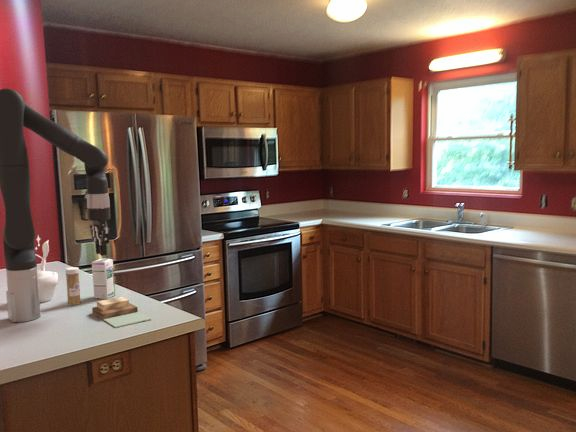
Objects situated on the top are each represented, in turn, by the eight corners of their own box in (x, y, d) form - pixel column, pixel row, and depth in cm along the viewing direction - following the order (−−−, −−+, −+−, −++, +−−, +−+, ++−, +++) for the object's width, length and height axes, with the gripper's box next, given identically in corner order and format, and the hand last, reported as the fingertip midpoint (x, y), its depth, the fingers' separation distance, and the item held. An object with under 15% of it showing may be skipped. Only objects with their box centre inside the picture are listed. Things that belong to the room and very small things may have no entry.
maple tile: (103, 310, 178) (103, 305, 178) (97, 307, 183) (96, 301, 182) (129, 305, 184) (128, 300, 183) (122, 302, 188) (121, 296, 188)
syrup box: (107, 299, 200) (105, 261, 198) (93, 298, 201) (91, 261, 199) (115, 295, 205) (113, 258, 203) (101, 294, 206) (99, 258, 205)
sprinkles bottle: (75, 306, 191) (72, 269, 189) (64, 305, 192) (62, 269, 191) (83, 302, 195) (81, 267, 194) (73, 301, 197) (71, 266, 195)
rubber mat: (115, 327, 167) (115, 326, 166) (103, 320, 174) (103, 319, 174) (151, 319, 174) (150, 318, 174) (138, 313, 182) (138, 311, 182)
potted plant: (52, 294, 207) (48, 231, 204) (64, 300, 199) (59, 234, 196) (18, 301, 198) (12, 235, 195) (29, 307, 190) (23, 239, 187)
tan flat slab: (103, 320, 175) (102, 314, 174) (92, 313, 182) (92, 307, 182) (137, 312, 182) (137, 307, 182) (126, 306, 190) (125, 301, 190)
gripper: (80, 205, 188) (83, 253, 191) (95, 208, 178) (98, 258, 180) (101, 204, 193) (104, 250, 195) (116, 207, 182) (119, 255, 184)
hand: (101, 254), depth 188 cm, fingers open, 3 cm apart
